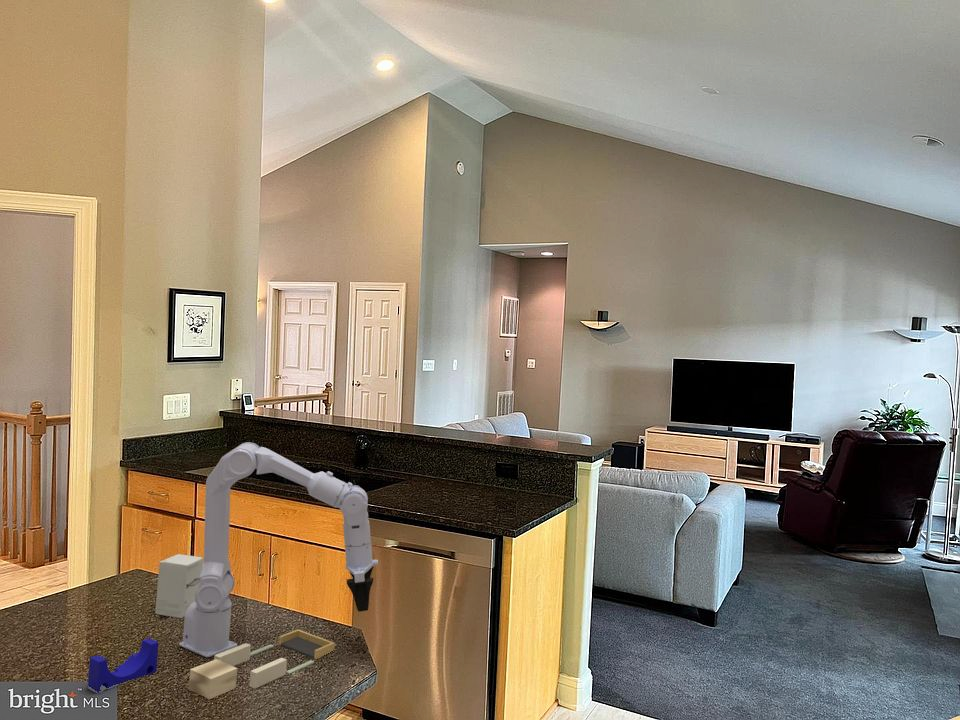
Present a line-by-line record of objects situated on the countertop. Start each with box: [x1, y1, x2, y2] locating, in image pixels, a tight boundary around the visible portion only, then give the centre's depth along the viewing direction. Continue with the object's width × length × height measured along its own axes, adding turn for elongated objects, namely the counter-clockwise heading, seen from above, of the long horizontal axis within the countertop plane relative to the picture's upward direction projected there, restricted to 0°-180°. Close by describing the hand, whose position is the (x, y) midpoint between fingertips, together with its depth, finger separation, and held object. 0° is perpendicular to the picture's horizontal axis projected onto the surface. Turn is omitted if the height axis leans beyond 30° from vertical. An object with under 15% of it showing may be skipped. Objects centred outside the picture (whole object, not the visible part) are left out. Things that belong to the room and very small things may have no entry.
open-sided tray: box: [278, 629, 336, 660], centre depth 159 cm, size 11×6×2 cm, turn 59°
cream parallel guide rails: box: [213, 642, 288, 689], centre depth 145 cm, size 12×8×3 cm, turn 59°
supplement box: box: [154, 553, 204, 619], centre depth 173 cm, size 7×7×13 cm
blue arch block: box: [87, 638, 159, 692], centre depth 138 cm, size 12×4×6 cm, turn 148°
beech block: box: [188, 659, 238, 700], centre depth 137 cm, size 6×6×4 cm
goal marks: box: [250, 644, 315, 675], centre depth 152 cm, size 13×7×1 cm, turn 59°
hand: (363, 604), depth 159 cm, fingers open, 7 cm apart
